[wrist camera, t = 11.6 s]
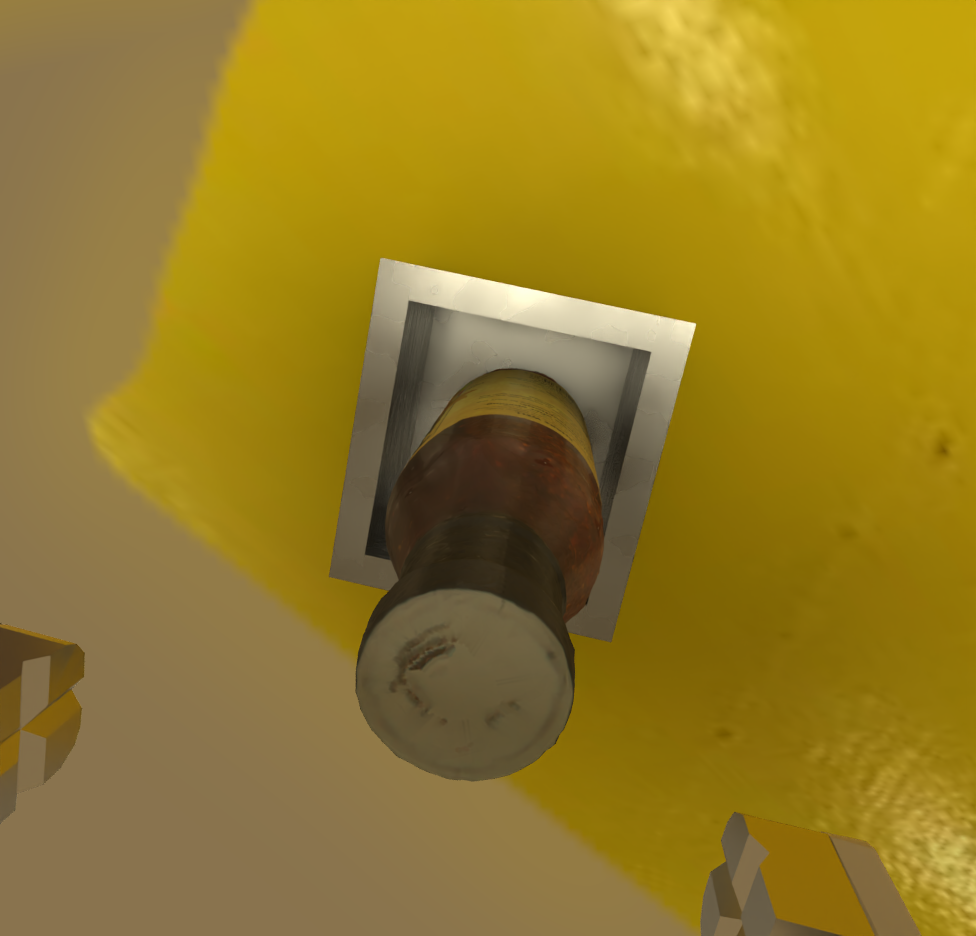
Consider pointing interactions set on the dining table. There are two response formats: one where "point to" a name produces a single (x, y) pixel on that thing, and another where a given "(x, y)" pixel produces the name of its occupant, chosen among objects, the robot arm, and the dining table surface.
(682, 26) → the dining table surface
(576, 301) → the condiment sleeve
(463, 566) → the sauce bottle
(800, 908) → the robot arm
